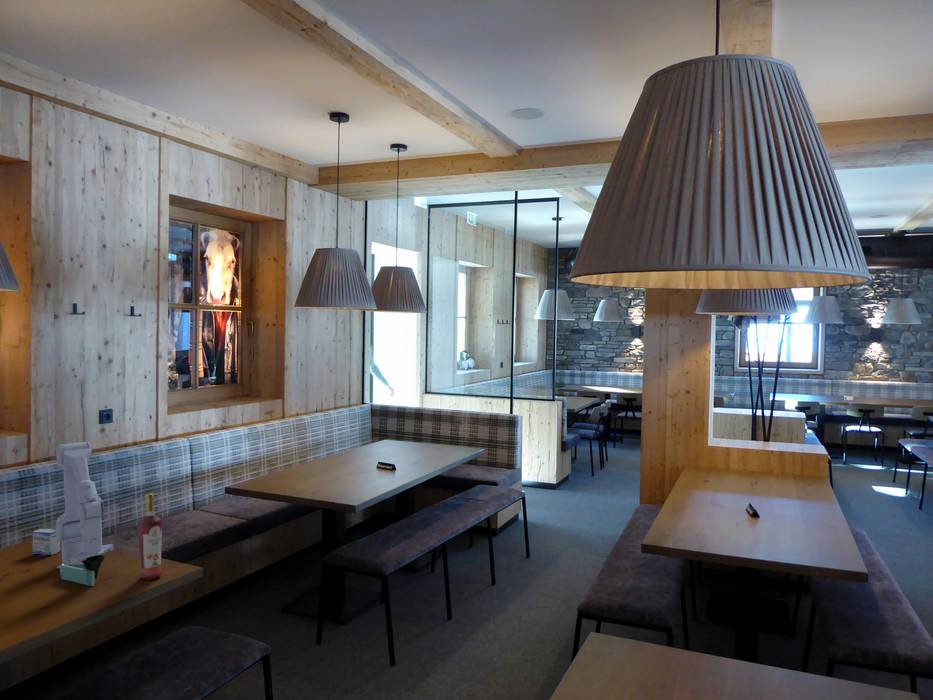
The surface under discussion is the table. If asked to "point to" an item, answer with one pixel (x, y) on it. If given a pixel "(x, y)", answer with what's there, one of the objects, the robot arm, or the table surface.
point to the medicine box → (45, 542)
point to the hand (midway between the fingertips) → (93, 578)
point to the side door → (77, 575)
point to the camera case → (79, 565)
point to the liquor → (150, 541)
